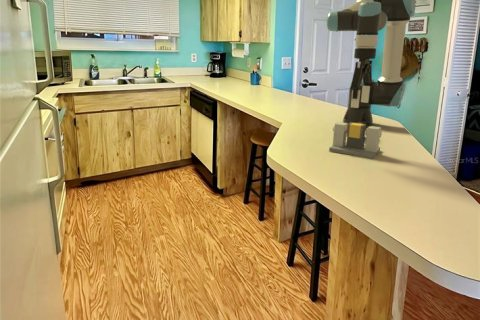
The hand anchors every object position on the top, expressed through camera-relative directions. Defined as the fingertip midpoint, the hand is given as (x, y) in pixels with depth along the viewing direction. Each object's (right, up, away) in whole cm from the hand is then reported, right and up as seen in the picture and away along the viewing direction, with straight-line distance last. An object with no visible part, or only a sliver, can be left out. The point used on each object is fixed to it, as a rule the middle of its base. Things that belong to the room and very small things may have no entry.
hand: (359, 104), depth 142 cm
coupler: (0, -12, +4) cm, 13 cm away
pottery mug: (+8, -12, +25) cm, 29 cm away
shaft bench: (0, -18, +6) cm, 19 cm away
